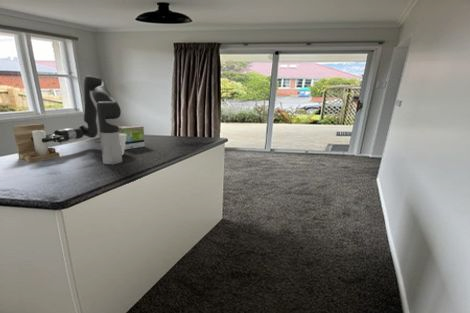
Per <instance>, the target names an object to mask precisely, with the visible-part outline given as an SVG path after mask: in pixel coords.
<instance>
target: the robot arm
mask: <svg viewBox="0 0 470 313" xmlns="http://www.w3.org/2000/svg"><path fill="white" fill-rule="evenodd" d="M91 92H92V97H91ZM83 96H84V115H83V121H84V122H85V123H86V124H87V125H86V124H85V125H83V124H82V125H80V126H77V127H72V128H63V129H62V128H61V129H56V130H55V131H54V132H53V133H45V135H46V138H43V139H42V142H43V143H45V142H47V143H49V142H50V143H56V142H57V143H65V142H70V141H73V140H79V139H81V138H83V137H84V136H85V137H88V138H91V139H93V138H96V136H97V135H98V132H99V137H100V145H101V154H102V156H101V157H102V163H103V164H104V165H112V166H113V165H116V164H120V163H123V155H122V150H121V146H120V138H119V128H118V126H119V125H115V124H112V123H109V122H107V120H115V119H116V120H117V119H119V118H120V117H121V113H122V111H121V110H122V109H121V107H120V105H119V102H117V101H116V99H115V98H114V97H113V96H112V94H111V93H110V91H109V90H108V88H107V85H106V83H105V80H104V79H103V78H102V77H97V76H93V75H86V76H85V77H84V82H83ZM92 98H93V99H94V101H95V103H96V105H95V104H94V102H93V100H92ZM97 118H98V122H97ZM97 123H98V124H97ZM98 125H99V131H98ZM31 140H32V141H34V140H33V137H31Z"/></svg>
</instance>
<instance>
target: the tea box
mask: <svg viewBox="0 0 470 313" xmlns="http://www.w3.org/2000/svg"><path fill="white" fill-rule="evenodd" d="M117 126H118V128H119V133H123V134H126V141H125V148H124V151H125V150H130V149H137V148H143V147H145V132H144V131H145V128H144V126H141V125H137V124H134V125H121V126H119V125H117Z"/></svg>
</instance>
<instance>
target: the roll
mask: <svg viewBox="0 0 470 313" xmlns="http://www.w3.org/2000/svg"><path fill="white" fill-rule="evenodd" d="M32 134H33V140H34V146H35V152H36V155H47V154H48V148H49V147H48V142H45V143H43V142H42V139H43V138H46V135H45V134H46V130H45V131H42V130H40V131H32Z"/></svg>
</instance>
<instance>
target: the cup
mask: <svg viewBox="0 0 470 313" xmlns="http://www.w3.org/2000/svg"><path fill="white" fill-rule="evenodd" d="M119 138H120V146H121V150H122V156H123V155H124V153H125V150H124V148H125V141H126V134H123V133H119Z"/></svg>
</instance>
